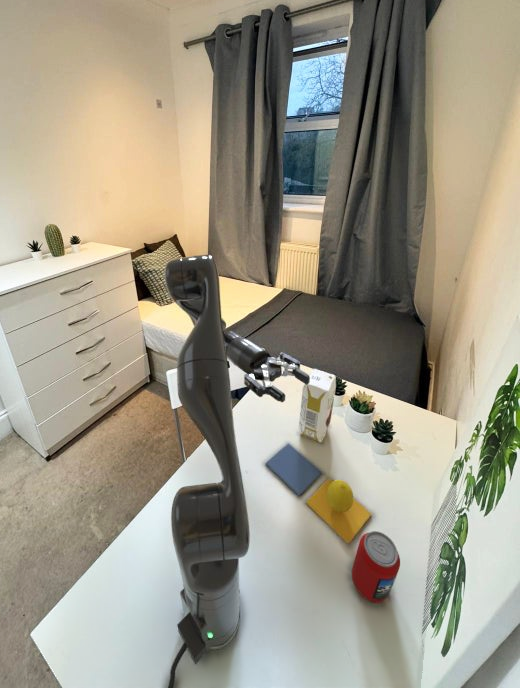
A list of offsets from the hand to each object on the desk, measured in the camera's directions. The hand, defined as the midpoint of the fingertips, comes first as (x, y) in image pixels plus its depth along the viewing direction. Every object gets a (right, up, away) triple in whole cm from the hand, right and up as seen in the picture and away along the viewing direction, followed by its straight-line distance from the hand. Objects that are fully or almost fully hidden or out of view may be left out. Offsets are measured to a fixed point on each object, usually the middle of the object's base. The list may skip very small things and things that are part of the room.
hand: (296, 389), depth 74 cm
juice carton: (+10, -18, +21) cm, 30 cm away
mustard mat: (+10, -28, +1) cm, 30 cm away
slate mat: (+2, -24, +11) cm, 26 cm away
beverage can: (+11, -34, -11) cm, 37 cm away
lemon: (+10, -27, +1) cm, 29 cm away
